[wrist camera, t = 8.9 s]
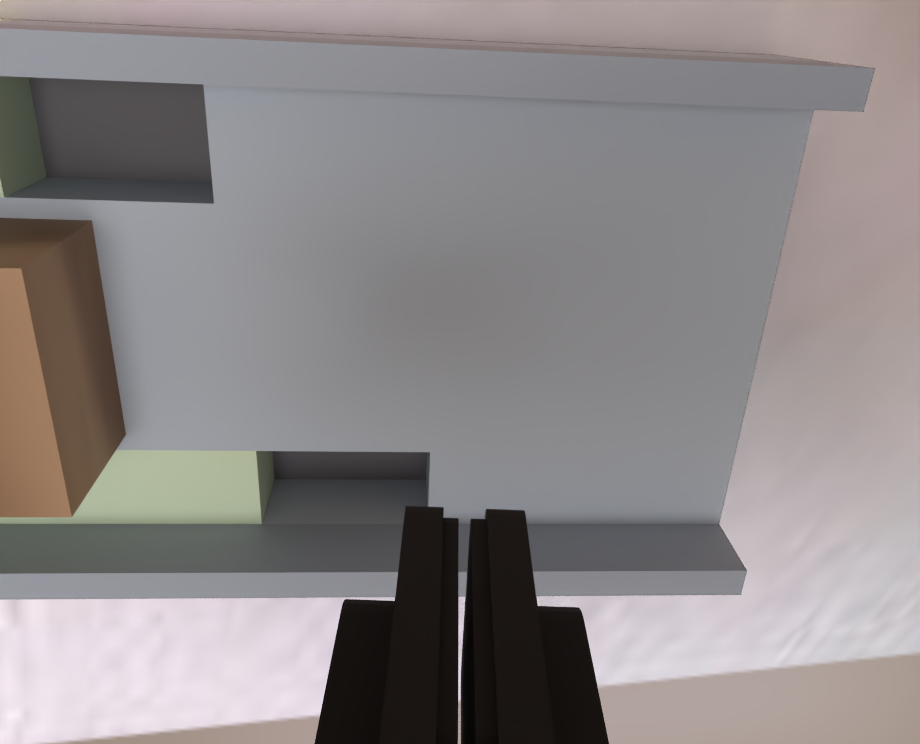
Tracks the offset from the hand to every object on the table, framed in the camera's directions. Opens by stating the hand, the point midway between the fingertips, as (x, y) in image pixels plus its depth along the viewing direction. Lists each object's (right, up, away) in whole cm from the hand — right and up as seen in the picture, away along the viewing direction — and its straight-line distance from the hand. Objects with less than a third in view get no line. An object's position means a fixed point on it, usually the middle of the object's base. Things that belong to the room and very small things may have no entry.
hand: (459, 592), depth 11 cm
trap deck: (-4, +5, +10) cm, 12 cm away
